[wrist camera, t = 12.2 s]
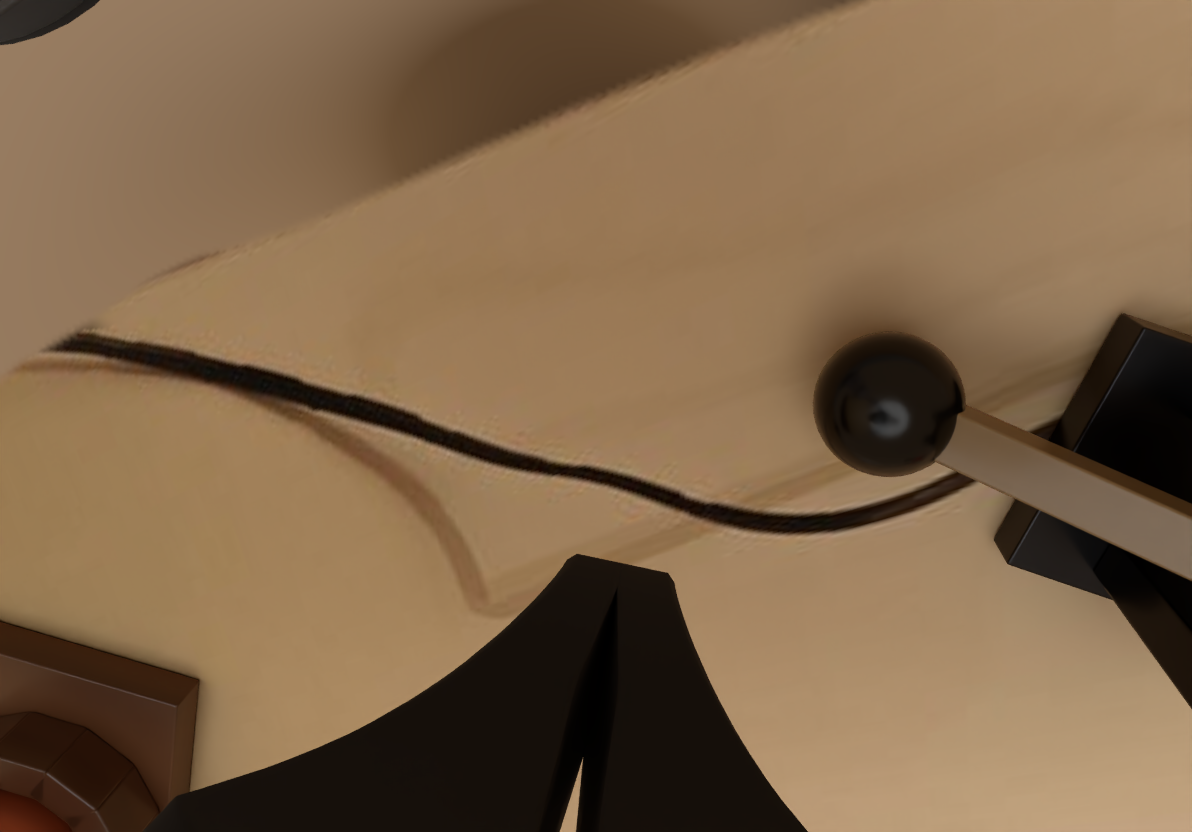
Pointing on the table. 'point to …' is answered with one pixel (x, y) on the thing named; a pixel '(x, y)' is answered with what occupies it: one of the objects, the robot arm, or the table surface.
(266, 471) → the table surface
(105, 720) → the switch block
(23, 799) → the button
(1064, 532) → the lamp switch bracket
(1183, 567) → the lever
